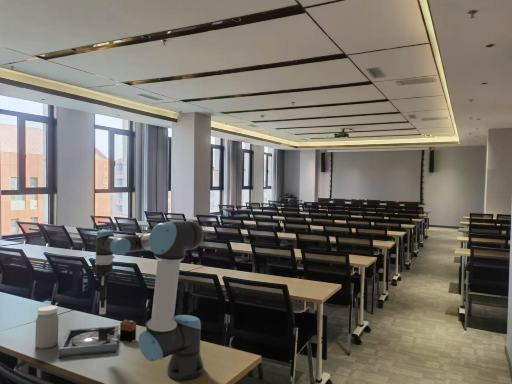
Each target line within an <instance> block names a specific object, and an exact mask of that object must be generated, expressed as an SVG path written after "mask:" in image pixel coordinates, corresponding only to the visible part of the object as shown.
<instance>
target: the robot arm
mask: <svg viewBox="0 0 512 384" xmlns="http://www.w3.org/2000/svg"><path fill="white" fill-rule="evenodd" d="M204 236H205V234H204V229H203V227H202V226H201V225H200V224H199V223H197V222H195V221H191V220H185V221H165V222H160V223H157V224H156V225H155V226H153V228H152V229H151V231H150V232H149V233H143V234H137V235H124V236H115V233H114V231H113V230H110V229H100V230H98V231H97V232H96V238H95V260H94V261H95V262H94V263H95V267H94V271H95V273H96V274H100V275H99V276H98V282H99V283H98V286H99V298H98V300H97V301H99V306H98V307H99V311H98V313H99V315H106V313H107V299H109V298H108V296H107V295H108V294H107V290H108V288H107V287H108V284H109V274H110V273H112V272H113V268H114V267H113V265H114V264H113V261H114V259H115V256H114V255H127V253H133V252H140V251H141V252H143V251H149V250H151V252H152V253H153V255H154V258H155V259H156V263H157V265H156V271H155V272H156V273H155V279H154V281H155V283H154V289H153V290H154V292H153V299H152V300H153V301H152V308H151V309H152V310H151V318H150V319H149V320H148V321H147V322H146V327H145V328H146V329H145V331H142V332H141V333H140V334H139V337H138V347H139V350H140V352H141V354H142V355H143V357H144V359H145V360H148V361H149V362H156V361H158V360H159V361H160V360H163V359H164V358H166V357H170V359H169V361H168V365H167V370H166V373H167V376H168V377H170V378H171V379H173V380H178V381H190V380H194V379H197V378H199V377H201V376H202V375H203V374H204V368H205V367H204V361H203V359H202V355H201V335H202V334H201V333H202V327H201V319H200V318H198V317H197V316H194V315H191V314H190V315H189V314H180V315H175V311H176V303H177V301H176V300H177V292H178V283H179V276H180V266H181V262H182V261H184V259H185V258H186V251H190V250H194V249H196V248H198V247H199V246H200V245H201V244H202V243H203V241H204Z"/></svg>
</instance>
